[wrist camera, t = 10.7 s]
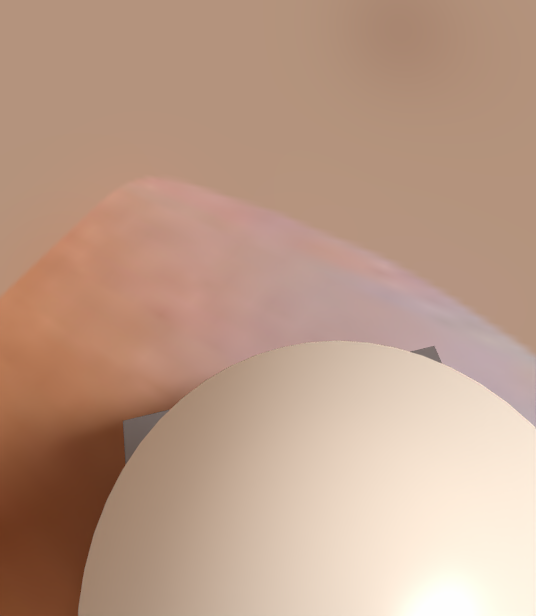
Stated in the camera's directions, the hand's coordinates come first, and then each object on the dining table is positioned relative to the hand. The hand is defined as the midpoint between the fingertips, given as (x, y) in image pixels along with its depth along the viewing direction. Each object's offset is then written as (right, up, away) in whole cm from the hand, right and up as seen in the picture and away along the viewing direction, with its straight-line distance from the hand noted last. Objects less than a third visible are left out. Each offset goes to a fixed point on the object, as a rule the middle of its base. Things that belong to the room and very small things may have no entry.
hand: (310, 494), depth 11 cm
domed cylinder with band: (+1, -4, +3) cm, 5 cm away
